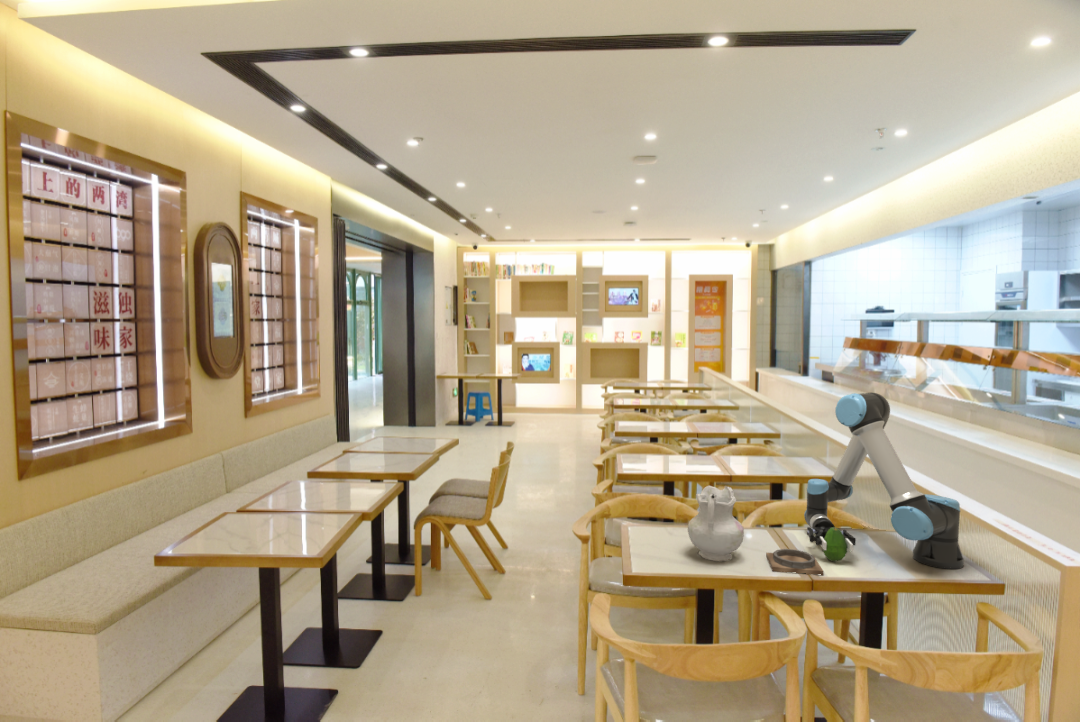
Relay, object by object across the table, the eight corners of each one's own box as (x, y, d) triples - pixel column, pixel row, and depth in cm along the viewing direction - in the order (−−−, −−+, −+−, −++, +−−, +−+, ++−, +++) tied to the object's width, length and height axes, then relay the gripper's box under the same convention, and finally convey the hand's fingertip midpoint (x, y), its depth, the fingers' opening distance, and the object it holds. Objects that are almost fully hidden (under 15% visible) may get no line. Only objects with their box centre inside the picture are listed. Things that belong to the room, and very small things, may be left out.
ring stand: (813, 560, 219) (814, 550, 219) (823, 575, 205) (823, 565, 205) (766, 556, 222) (766, 546, 222) (772, 571, 209) (772, 561, 208)
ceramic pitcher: (744, 573, 210) (752, 501, 208) (686, 564, 213) (693, 493, 212) (737, 551, 231) (744, 485, 229) (684, 543, 235) (691, 478, 233)
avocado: (818, 560, 218) (820, 527, 218) (826, 555, 224) (827, 522, 224) (842, 567, 213) (844, 532, 212) (849, 560, 219) (851, 527, 218)
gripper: (851, 538, 234) (870, 560, 212) (793, 534, 238) (806, 555, 216) (852, 519, 234) (871, 538, 211) (794, 515, 238) (806, 534, 216)
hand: (838, 547), depth 214 cm, fingers closed on avocado, 8 cm apart
